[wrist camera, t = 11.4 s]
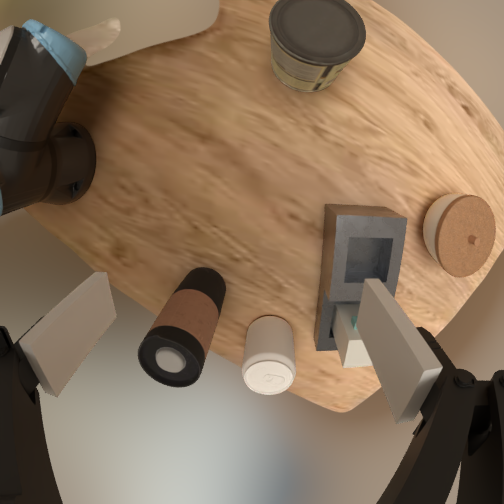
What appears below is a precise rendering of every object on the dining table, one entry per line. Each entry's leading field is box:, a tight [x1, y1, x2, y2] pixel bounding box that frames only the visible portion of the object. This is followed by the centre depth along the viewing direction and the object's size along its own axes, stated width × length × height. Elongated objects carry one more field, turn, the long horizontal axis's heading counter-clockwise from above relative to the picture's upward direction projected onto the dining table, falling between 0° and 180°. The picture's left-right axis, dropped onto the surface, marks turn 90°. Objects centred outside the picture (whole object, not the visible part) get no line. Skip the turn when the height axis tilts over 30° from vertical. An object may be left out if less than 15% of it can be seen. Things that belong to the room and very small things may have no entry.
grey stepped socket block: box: [314, 204, 407, 351], centre depth 41 cm, size 10×24×8 cm, turn 0°
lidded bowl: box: [423, 193, 496, 277], centre depth 35 cm, size 13×13×11 cm
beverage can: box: [242, 316, 296, 395], centre depth 44 cm, size 8×8×12 cm
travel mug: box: [138, 267, 226, 387], centre depth 38 cm, size 8×8×20 cm
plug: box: [331, 304, 373, 368], centre depth 40 cm, size 5×6×11 cm
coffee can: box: [269, 0, 366, 92], centre depth 28 cm, size 10×10×14 cm
